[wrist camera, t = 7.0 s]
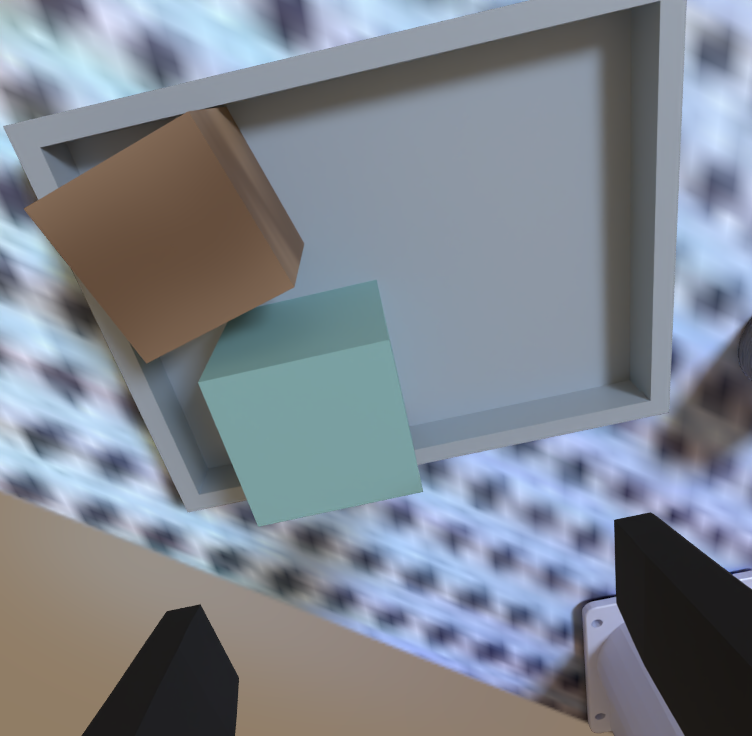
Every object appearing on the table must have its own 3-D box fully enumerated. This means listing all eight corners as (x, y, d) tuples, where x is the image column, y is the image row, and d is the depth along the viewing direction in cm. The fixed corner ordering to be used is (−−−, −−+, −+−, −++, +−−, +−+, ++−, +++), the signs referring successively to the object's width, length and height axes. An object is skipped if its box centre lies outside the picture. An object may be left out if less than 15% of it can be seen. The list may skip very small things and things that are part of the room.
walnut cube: (304, 243, 16) (294, 287, 12) (188, 304, 16) (146, 363, 13) (226, 106, 14) (188, 111, 11) (100, 180, 15) (23, 208, 11)
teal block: (404, 405, 18) (423, 491, 14) (275, 433, 19) (258, 526, 15) (376, 279, 16) (388, 339, 12) (231, 312, 17) (198, 382, 13)
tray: (638, 383, 19) (669, 412, 18) (201, 474, 20) (187, 512, 18) (643, -22, 14) (688, -38, 12) (44, 122, 15) (3, 126, 13)
